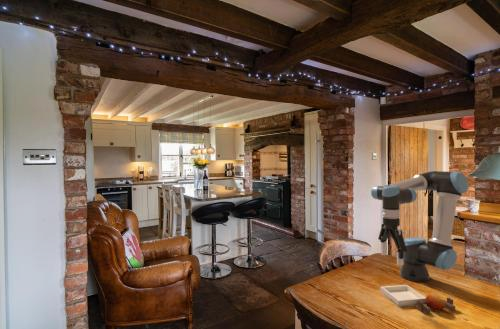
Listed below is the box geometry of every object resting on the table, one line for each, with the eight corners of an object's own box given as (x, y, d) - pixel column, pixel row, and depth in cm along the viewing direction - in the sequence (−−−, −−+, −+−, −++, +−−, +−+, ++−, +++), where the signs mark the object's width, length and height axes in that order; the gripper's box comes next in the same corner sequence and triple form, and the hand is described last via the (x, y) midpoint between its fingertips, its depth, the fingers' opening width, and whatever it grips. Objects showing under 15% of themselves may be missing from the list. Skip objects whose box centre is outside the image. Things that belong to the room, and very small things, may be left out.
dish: (406, 290, 151) (406, 284, 151) (427, 304, 136) (427, 298, 136) (380, 292, 150) (380, 286, 150) (398, 307, 135) (398, 300, 135)
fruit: (417, 302, 136) (425, 288, 136) (430, 310, 136) (438, 295, 136) (429, 311, 128) (438, 296, 128) (443, 319, 128) (452, 304, 128)
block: (446, 304, 136) (446, 295, 136) (456, 311, 130) (456, 301, 130) (414, 307, 134) (414, 298, 134) (424, 314, 128) (423, 304, 128)
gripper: (371, 212, 151) (371, 251, 151) (399, 223, 126) (399, 270, 127) (384, 211, 151) (385, 250, 152) (415, 222, 126) (415, 269, 127)
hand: (391, 259), depth 139 cm, fingers open, 13 cm apart
